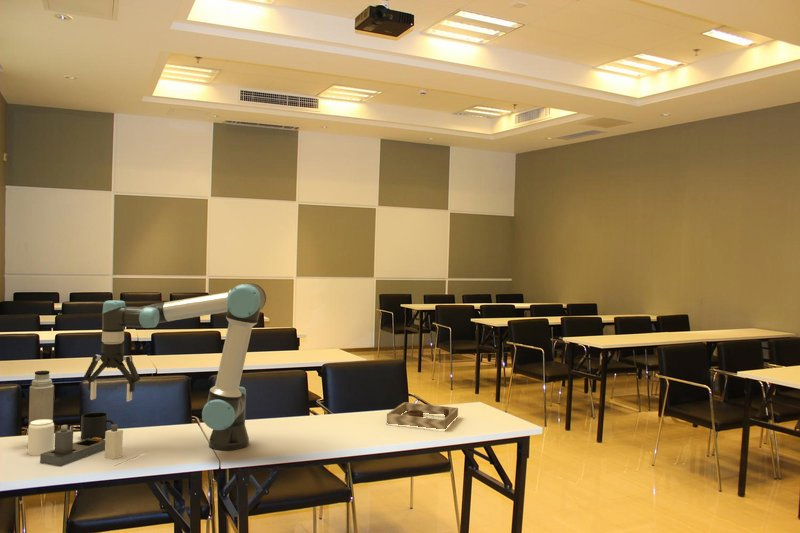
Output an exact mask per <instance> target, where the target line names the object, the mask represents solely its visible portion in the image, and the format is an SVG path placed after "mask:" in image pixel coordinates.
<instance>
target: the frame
mask: <svg viewBox="0 0 800 533" xmlns="http://www.w3.org/2000/svg"><path fill="white" fill-rule="evenodd" d="M444 409H449V415H448V416H447V417H446V418H445V417H444V418H443V419H442V418H441V419H439V418H433V417H431V418H430V417H427V418H423V417H415V416H408V415H404V414H405V413H404V412H405V411H407V412H409V411H410V410H420V411H423V413H429V414H444ZM402 413H404V414H403V415H401V414H402ZM457 416H458V417H459V408H458V407H453V406H443V405H435V404H425V403H418V402H417V403H415V402H408V401H407V402H405V401H404V402H402V403H401V404H399V405H398V406H397V407H395V408H394V409H392V410H391V411H389V412H387V413H386V424H387V423H388V424H398V425H410V426H418V427H426V428H436V429H446V428H447V426H448V425H449V424H450V423H451V422H452V421H453V420H454V419H455V418H456V417H457ZM432 418H433V419H432Z"/></svg>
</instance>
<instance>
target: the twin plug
mask: <svg viewBox="0 0 800 533" xmlns="http://www.w3.org/2000/svg"><path fill="white" fill-rule="evenodd" d="M73 443H74V430H73V429H72V430H71V429H68V424H63V425H61V426H60V429H59V430H57V431H54V449H55V450H54V453H56V454H62V455H64V454H67V453H70V452H73Z"/></svg>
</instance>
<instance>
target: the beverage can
mask: <svg viewBox="0 0 800 533" xmlns="http://www.w3.org/2000/svg"><path fill="white" fill-rule="evenodd" d="M27 438H28V439H27V455H29V456H34V457H35V456H40V454H42V453H45V452H48V451H51V450H54V449H55V422H54V419H53V420H50V419H41V420H35V421H32V422H30V425H29V424H28V433H27Z"/></svg>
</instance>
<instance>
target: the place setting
mask: <svg viewBox="0 0 800 533" xmlns="http://www.w3.org/2000/svg"><path fill="white" fill-rule="evenodd" d="M407 414H408V415H407V416H415V417H426V418H428V417H427V416H425V415H423V411H420V410H410V411H409V413H407ZM444 415H445V417H444V419H445V418H446V417H447V416H448V415H449V409H444Z"/></svg>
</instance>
